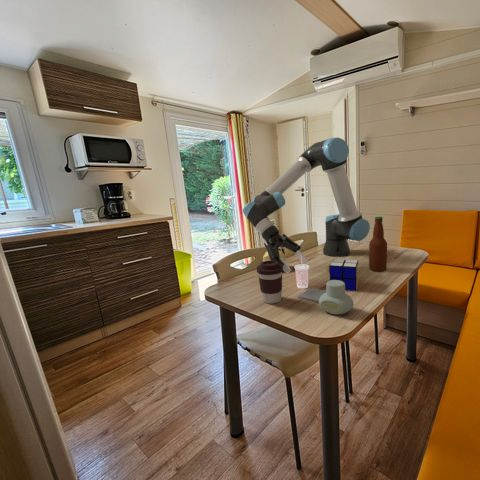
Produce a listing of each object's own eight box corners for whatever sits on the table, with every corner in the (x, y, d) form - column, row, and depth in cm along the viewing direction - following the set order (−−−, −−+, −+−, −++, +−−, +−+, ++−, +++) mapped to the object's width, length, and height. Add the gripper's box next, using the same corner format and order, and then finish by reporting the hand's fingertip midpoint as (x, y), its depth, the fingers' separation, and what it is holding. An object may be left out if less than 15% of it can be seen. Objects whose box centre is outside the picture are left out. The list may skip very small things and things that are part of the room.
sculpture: (266, 265, 145) (265, 246, 143) (288, 265, 141) (287, 246, 139) (261, 272, 134) (259, 252, 132) (284, 273, 130) (283, 252, 128)
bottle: (385, 267, 125) (387, 215, 120) (387, 272, 119) (388, 217, 113) (368, 266, 128) (369, 216, 123) (369, 271, 122) (369, 218, 117)
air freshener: (315, 311, 90) (314, 283, 88) (325, 302, 96) (325, 276, 94) (347, 320, 83) (347, 290, 81) (356, 309, 89) (356, 281, 87)
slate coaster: (310, 288, 109) (310, 287, 108) (334, 294, 102) (334, 292, 102) (297, 297, 102) (297, 296, 101) (322, 303, 95) (322, 302, 95)
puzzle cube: (329, 288, 107) (329, 265, 105) (333, 280, 116) (333, 258, 114) (356, 291, 103) (356, 267, 101) (358, 282, 111) (358, 259, 109)
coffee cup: (271, 308, 95) (268, 268, 92) (253, 300, 103) (250, 263, 100) (290, 299, 100) (288, 262, 97) (272, 292, 108) (270, 257, 105)
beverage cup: (292, 286, 112) (290, 255, 109) (301, 282, 116) (299, 252, 113) (304, 290, 108) (302, 257, 105) (312, 285, 111) (311, 254, 109)
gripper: (279, 230, 129) (307, 264, 122) (245, 241, 111) (275, 281, 104) (287, 220, 124) (317, 254, 117) (253, 229, 107) (286, 271, 99)
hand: (298, 267), depth 110 cm, fingers open, 13 cm apart
